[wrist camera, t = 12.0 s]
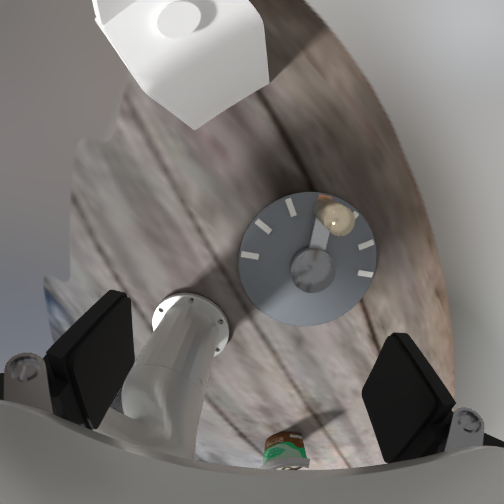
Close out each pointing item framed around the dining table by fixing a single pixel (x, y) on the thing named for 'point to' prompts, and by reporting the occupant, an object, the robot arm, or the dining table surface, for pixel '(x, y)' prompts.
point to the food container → (285, 452)
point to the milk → (189, 51)
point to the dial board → (282, 250)
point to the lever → (320, 246)
